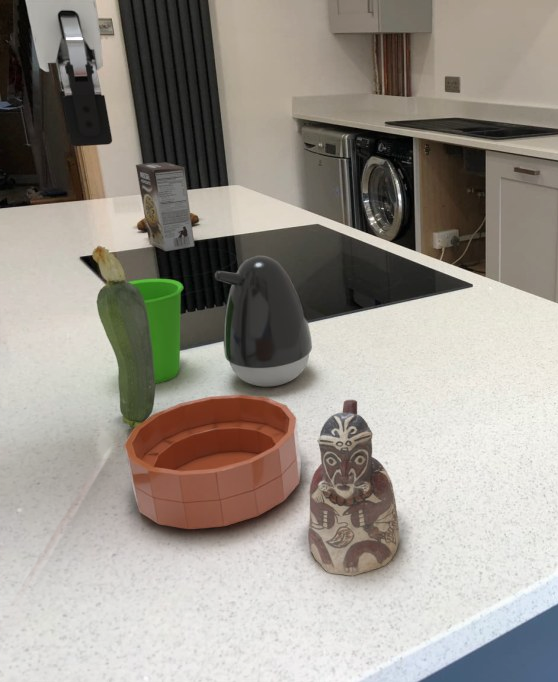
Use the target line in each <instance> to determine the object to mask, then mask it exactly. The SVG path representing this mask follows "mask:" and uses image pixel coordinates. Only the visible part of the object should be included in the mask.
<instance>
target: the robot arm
mask: <svg viewBox="0 0 558 682" xmlns="http://www.w3.org/2000/svg"><path fill="white" fill-rule="evenodd" d="M24 1H25V5H26V10H27V16H28V20H29V25H30V29H31V34H32V39H33V44H34V49H35V53H36V58H37V63H38V67H39V69H40V70H43V71H44V72H47V73H49V72H50V67H49V64H56V68H57V69H56V70H57V72H58V78H59V84H60V87H61V88H60V89H61V90H60V91H58V92H59V97H60V101H61V109H62V112H63V117H64V122H65V127H66V132H67V134H68V136H69V139H70V143H71V144H72V146H74V147H87V146H104V145H106V146H107V145H110V144H112V142H113V137H112V129H111V125H110V119H109V114H108V108H107V102H106V97H105V95H104V94H102V90H101V89H102V88H101V85H100V79H99V75H98V71H100V69H102V67H103V66H104V62H103V60H104V59H103V47H102V38H101V30H100V21H99V14H98V6H97V1H96V0H24Z"/></svg>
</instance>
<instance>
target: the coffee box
mask: <svg viewBox="0 0 558 682" xmlns="http://www.w3.org/2000/svg"><path fill="white" fill-rule="evenodd" d="M135 168H136V174H137V181H138V185H139V190H140V196H141V202H142V208H143V215H144V218H145V221H146V227H147V231H146V233H147V237H148V238H147V239H148V243H149V244H150V245H152V246H154V247H156V248H158V249H160V250H162V251H164V252H170V251H177V250H182V249H188V248H194V247H195V238H194V230H193V224H192V223H191V216H190V213H191V207H190V201H189V200H190V199H189V195H188V193H189V192H188V187H187V179H186V173H185V166H180V165H177V164H174V163H170V162H167V161H165V162H164V161H163V162H148V163H139V164H136V165H135Z"/></svg>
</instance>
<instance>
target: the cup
mask: <svg viewBox="0 0 558 682" xmlns="http://www.w3.org/2000/svg"><path fill="white" fill-rule="evenodd" d="M128 282H129V283H131V284H133V285H134V286H136V287H137V288H138V290H139V291H140V293H141V295H142V297H143V299H144V302H145V305H146V309H147V314H148V320H149V326H150V335H151V342H152V349H153V362H154V373H155V384H159V383H163V382H166V381H170V380H172V379H174V378H175V377H177V376H178V375H179V371H180V368H181V303H182V301H181V299H182V298H181V295H182V294H181V293H182V291H183V290H184V285H183V283H181V282H180V281H178V280H175V279H170V278H169V279H168V278H146V279H136V280H131V281H128Z"/></svg>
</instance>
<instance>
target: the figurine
mask: <svg viewBox="0 0 558 682" xmlns="http://www.w3.org/2000/svg"><path fill="white" fill-rule="evenodd" d="M372 439H373V432H372V430H371V428H370V426H369V424H368V422H367V421H366V420H365V418H363V417H362V416H361V415H359V414H358V401H357V400H356V399H345V400H344V401H343V405H342V412H337V413H333V414H332V415H331V416H329V418H328V419H327V420H326V421H325V422H324V423H323V426H322V428H321V430H320V435H319V436H318V439H317V443H318V447H319V451H320V463H321V464H320V465H319V466H318V467H317V469H316V470H315V471H314V473H313V475H312V479H311V483H310V487H309V521H308V522H309V523H308V532H307V536H308V537H307V539H308V541H307V542H308V546H309V550H310V553H312V555H313V558H314V560H316V561H317V563H319V564H320V565H321V568H322V569H324V570H325V571H326V572H327V573H329V574H332V575H333V574H336V575H337V574H338V575H344V576H354V577H355V576H356V575H359V574H362V573H366V572H371V571H373V570H376V569H380V568H382V567H384V566H386V565H387V564H389V563H390V562H391V561H392V559H393V558H394V556H395V554H396V552H397V550H398V546H399V544H400V543H399V541H400V524H399V516H398V511H397V510H398V509H397V502H396V497H395V492H394V491H395V490H394V487H393V483H392V479H391V477H390V476H389V474H388V471H387V469H386V468H385V467H384V465H383V464H382V463H381V462H380V461H379V460H378V459H376V458H375V457H373V443H372Z"/></svg>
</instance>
